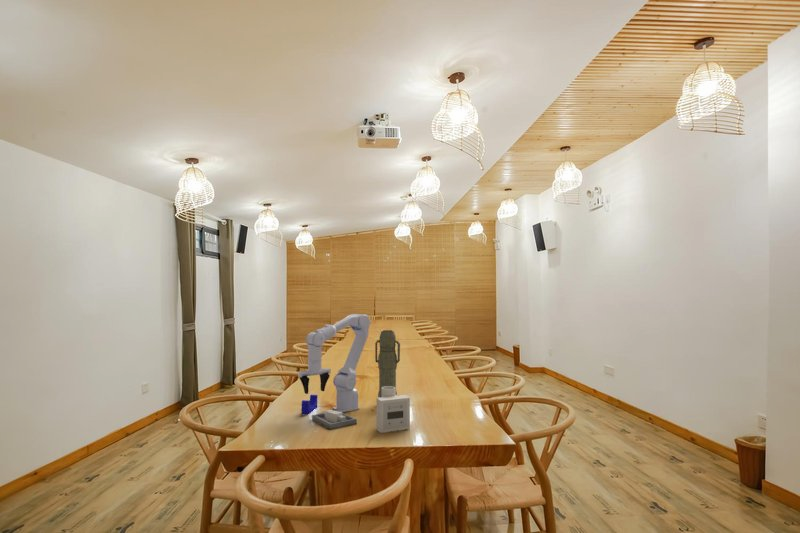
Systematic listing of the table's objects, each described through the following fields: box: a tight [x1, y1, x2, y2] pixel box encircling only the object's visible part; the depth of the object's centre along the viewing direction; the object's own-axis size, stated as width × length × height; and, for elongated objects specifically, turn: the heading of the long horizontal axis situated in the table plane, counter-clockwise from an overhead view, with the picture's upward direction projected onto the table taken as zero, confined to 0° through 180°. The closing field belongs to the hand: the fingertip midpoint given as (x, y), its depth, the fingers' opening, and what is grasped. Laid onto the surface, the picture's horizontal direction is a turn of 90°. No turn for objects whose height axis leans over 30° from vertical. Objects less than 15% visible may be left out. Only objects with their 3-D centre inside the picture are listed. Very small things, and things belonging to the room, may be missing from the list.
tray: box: [311, 410, 358, 430], centre depth 183 cm, size 12×16×2 cm
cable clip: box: [301, 394, 318, 416], centre depth 200 cm, size 12×4×6 cm, turn 171°
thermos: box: [374, 329, 401, 398], centre depth 210 cm, size 9×12×35 cm
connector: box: [324, 409, 346, 423], centre depth 183 cm, size 10×4×4 cm, turn 54°
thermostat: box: [376, 386, 411, 434], centre depth 178 cm, size 12×14×15 cm
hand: (314, 392), depth 191 cm, fingers open, 7 cm apart
